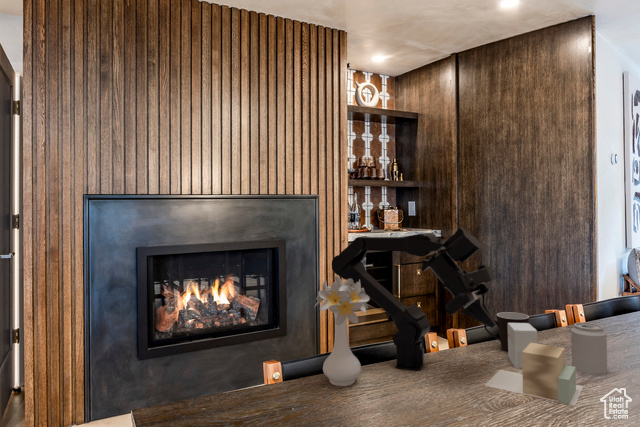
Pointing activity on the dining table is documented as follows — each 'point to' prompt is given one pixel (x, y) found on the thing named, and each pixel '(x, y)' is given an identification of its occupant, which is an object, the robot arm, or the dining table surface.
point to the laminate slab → (520, 384)
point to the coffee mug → (503, 326)
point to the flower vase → (342, 328)
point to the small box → (519, 341)
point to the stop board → (567, 384)
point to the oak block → (542, 369)
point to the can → (589, 348)
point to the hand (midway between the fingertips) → (493, 326)
